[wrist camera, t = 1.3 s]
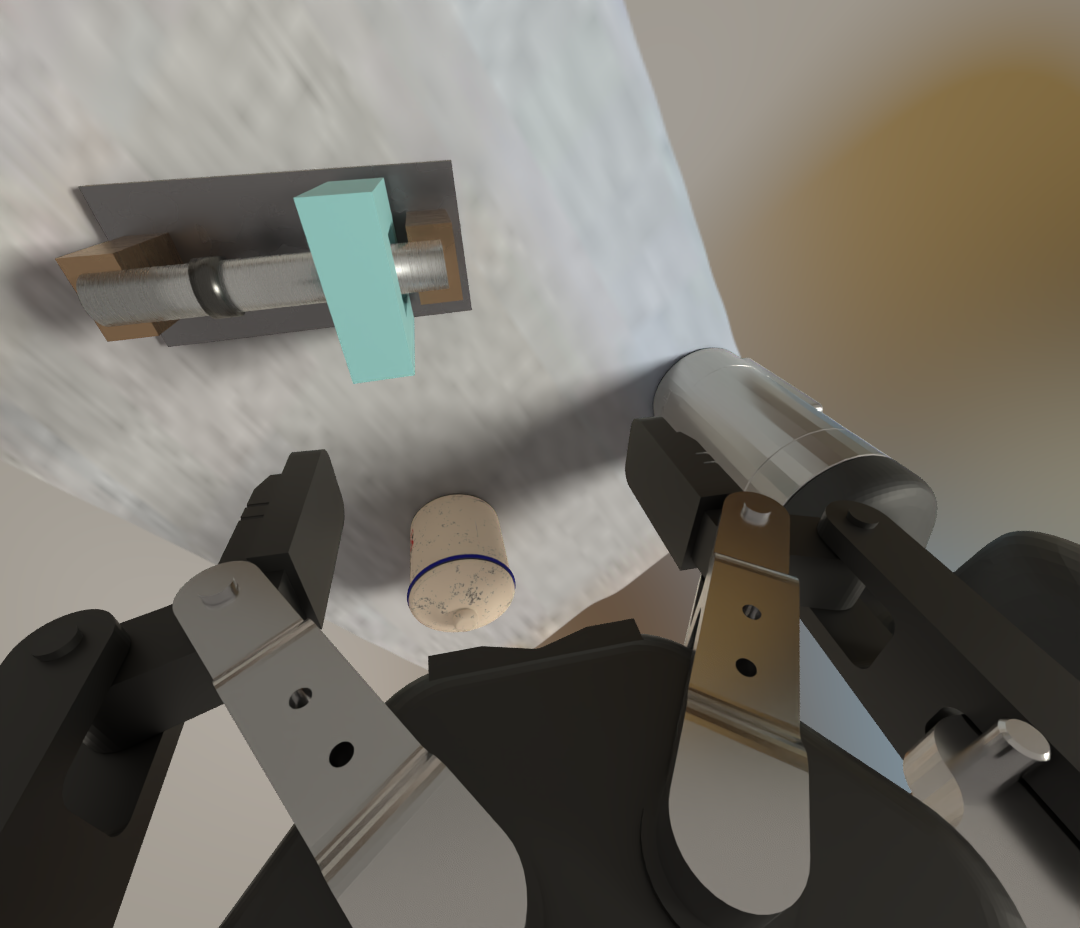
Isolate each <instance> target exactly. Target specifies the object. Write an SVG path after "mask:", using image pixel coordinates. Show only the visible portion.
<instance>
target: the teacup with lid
mask: <svg viewBox="0 0 1080 928" xmlns="http://www.w3.org/2000/svg"><path fill="white" fill-rule="evenodd" d="M514 592H515V579H514V576H513V574H512V572H511V570H510V569H509V565H508V560H507V556H506V551H505V547H504V543H503V538H502V534H501V529H500V525H499V521H498V517H497V515H496V512H495V511H494V509H493V508H492V507H491V506H490V505H489V504H488V503H486V502H485V501H483V500H481V499H479V498H477V497H474V496H469V495H460V494H457V495H448V496H444V497H440V498H437V499H435V500H433V501H431V502H429V503H428V504H426V505H425V506H424V507H422V508H421V509H420V510H419V511H418V513H417V514H416V515H415V517H414V519H413V521H412V524H411V531H410V586H409V589H408V592H407V602H408V606H409V608H410V610H411V612H412V614H413V615H414V617H415V618H416V619H417V620H418V621H419V622H420V623H422V624H423V625H425V626H427V627H429V628H432V629H434V630H438V631H444V632H466V631H470V630H473V629H476V628H479V627H482V626H484V625H487V624H489V623H491V622H492V621H494V620H495V619H497V618H498V617H499V616H501V615H502V614H503V613H504V612H505V611H506V609H507V608H508V607H509V605H510V604H511V602H512V599H513V597H514Z"/></svg>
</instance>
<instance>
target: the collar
mask: <svg viewBox="0 0 1080 928" xmlns="http://www.w3.org/2000/svg"><path fill="white" fill-rule="evenodd" d="M293 199H294V202H295V205H296V208H297V211H298V214H299V217H300V220H301V223H302V226H303V229H304V233H305V236H306V239H307V242H308V245H309V248H310V251H311V254H312V257H313V260H314V264H315V267H316V270H317V273H318V276H319V279H320V282H321V285H322V288H323V291H324V294H325V298H326V301H327V304H328V307H329V310H330V313H331V316H332V319H333V322H334V325H335V328H336V332H337V335H338V338H339V341H340V344H341V347H342V350H343V353H344V356H345V359H346V362H347V366H348V369H349V372H350V375H351V378H352V381H353V384H356V383H363V382H370V381H377V380H384V379H391V378H398V377H405V376H413V375H415V347H414V316H413V311H412V307H411V302H410V298H409V293H406V294H401V291H400V286H399V282H398V278H397V273H396V269H395V264H394V260H393V255H392V251H391V247H390V244H395V243H398V242H397V237H396V233H395V228H394V224H393V219H392V214H391V210H390V205H389V200H388V196H387V191H386V187H385V182H384V177H383V178H370V179H356V180H343V181H329V182H326V183H324V184H322V185H319V186H317V187H315V188H313V189H311V190H309V191H307V192H305V193H303V194H300V195H298V196H296V197H294V198H293Z"/></svg>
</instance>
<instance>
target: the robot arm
mask: <svg viewBox="0 0 1080 928" xmlns="http://www.w3.org/2000/svg"><path fill="white" fill-rule="evenodd" d="M822 411H823V408H822V405H821V404H820V403H819V402H817V401H815V400H814V399H812V398H811V397H809V396H808V395H806V394H805V393H803V392H801V391H800V390H798V389H797V388H795V387H794V386H792V385H791V384H789V383H788V382H786V381H784V380H783V379H781V378H780V377H778V376H777V375H775V374H774V373H772V372H771V371H769V370H767V369H766V368H764V367H763V366H761V365H760V364H758V363H756V362H755V361H753V360H752V359H750V358H739V357H738V356H736V355H735V354H733V353H732V352H730V351H727V350H725V349H721V348H708V349H702V350H699V351H696V352H693V353H691V354H689V355H688V356H686V357H684V358H682V359H681V360H680V361H679V362H677V363H676V364H675V365H674V366H673V367H672V368H671V369H670V370H669V371H668V372H667V373H666V374H665V376H664V377H663V379H662V381H661V382H660V384H659V386H658V388H657V391H656V393H655V397H654V402H653V412H654V416H655V417H647V418H637V419H634V420H633V422H632V424H631V429H630V436H629V443H628V450H627V457H626V464H625V473H626V479H627V482H628V485H629V487H630V489H631V490H632V492H633V494H634V495H635V497H636V499H637V500H638V502H639V503H640V505H641V507H642V508H643V510H644V512H645V513H646V515H647V517H648V518H649V520H650V522H651V523H652V525H653V526H654V528H655V530H656V531H657V533H658V535H659V536H660V538H661V540H662V541H663V543H664V545H665V546H666V548H667V549H668V551H669V553H670V554H671V556H672V557H673V559H674V561H675V562H676V564H677V566H678V568H679V569H680V570H687V569H693V568H698V569H699V570H700V572H701V576H700V579H699V583H698V587H697V591H696V596H695V600H694V604H693V609H692V613H691V618H690V622H689V626H688V630H687V635H686V639H685V643H684V645H682V644H679V643H677V642H674V641H672V640H669V639H665V638H662V637H658V636H653V635H648V634H640V632H639V629H638V627H637V625H636V623H635V620H634V619H628V620H622V621H617V622H612V623H606V624H600V625H595V626H590V627H585V628H583V629H581V630H579V631H577V632H575V633H572V634H570V635H568V636H566V637H564V638H562V639H559V640H557V641H555V642H553V643H551V644H548V645H546V646H544V647H541V648H538V649H525V648H505V647H486V646H481V647H475V648H470V649H465V650H459V651H454V652H448V653H443V654H437V655H432V656H428V665H429V674H426V675H424V676H422V677H420V678H418V679H416V680H415V681H413V682H411V683H409V684H408V685H406V686H405V687H404V688H402V689H401V690H399V691H398V692H397V693H395V694H394V695H393V696H392V697H391V698H390V699H389V700H388V701H386V702H385V703H384V702H383V701H382V700H381V699H380V697H379V696H378V695H377V694H376V693H375V692H374V691H373V689H372V688H371V687H370V686H369V685H368V684H367V682H366V681H365V680H364V679H363V678H362V677H361V676H360V674H359V673H358V672H357V671H356V670H355V669H354V668H353V667H352V665H351V664H350V663H349V662H348V661H347V660H346V659H345V657H344V656H343V655H342V654H341V653H340V652H339V651H338V649H337V648H336V647H335V646H334V645H333V644H332V643H331V642H330V640H329V639H328V638H327V637H326V636H325V634H324V633H323V632H322V631H321V630H320V629H322V626H323V622H324V617H325V612H326V607H327V602H328V598H329V593H330V588H331V583H332V578H333V573H334V568H335V563H336V559H337V554H338V549H339V544H340V539H341V534H342V529H343V524H344V504H343V499H342V496H341V492H340V489H339V486H338V483H337V480H336V476H335V473H334V470H333V467H332V463H331V460H330V457H329V455H328V453H327V451H326V450H325V449H322V450H312V451H302V452H292V453H291V454H290V455H289V458H288V460H287V462H286V465H285V467H284V469H283V472H282V474H276V475H270V476H269V477H268V478H266V479H265V480H264V481H263V482H262V483H261V484H260V485H259V486H258V487H256V488H255V489H254V491H253V493H252V495H251V497H250V499H249V501H248V503H247V508H245V510H244V512H243V514H242V516H241V521H239V522H238V524H237V526H236V528H235V530H234V532H233V534H232V536H231V538H230V540H229V543H228V545H227V547H226V549H225V551H224V553H223V555H222V557H221V559H220V561H219V563H218V565H215V566H213V567H211V568H209V569H206V570H204V571H202V572H201V573H199V574H197V575H196V576H194V577H193V578H191V579H190V580H189V581H188V582H187V583H186V584H185V585H184V586H183V587H182V588H181V589H180V590H179V592H178V593H177V594H176V597H175V598H174V601H173V604H171V605H169V606H167V607H164V608H161V609H159V610H156V611H153V612H151V613H148V614H145V615H142V616H139V617H136V618H134V619H131V620H128V621H125V622H122V623H120V624H119V623H118V621H117V620H116V619H115V618H114V617H113V615H111V614H110V613H109V612H107V611H104V610H99V609H90V610H83V611H78V612H74V613H71V614H68V615H65V616H62V617H60V618H58V619H55V620H53V621H51V622H49V623H47V624H45V625H44V626H42V627H40V628H39V629H37V630H36V631H34V632H33V633H31V634H30V635H28V636H27V637H26V638H25V639H23V640H22V641H21V642H20V643H19V644H18V645H17V646H15V647H14V648H13V649H12V651H11V652H10V653H9V654H8V655H7V657H6V658H5V660H4V661H3V662H2V664H1V665H0V928H113V926H114V923H115V920H116V917H117V914H118V911H119V909H120V906H121V903H122V900H123V897H124V894H125V891H126V888H127V885H128V883H129V880H130V877H131V874H132V871H133V868H134V866H135V863H136V859H137V857H138V854H139V851H140V848H141V845H142V843H143V840H144V837H145V834H146V831H147V828H148V825H149V822H150V820H151V817H152V814H153V811H154V808H155V805H156V802H157V799H158V796H159V794H160V791H161V788H162V785H163V782H164V779H165V777H166V773H167V771H168V768H169V765H170V762H171V759H172V756H173V753H174V751H175V748H176V745H177V742H178V739H179V736H180V733H181V731H182V728H183V725H184V722H185V721H187V720H189V719H192V718H194V717H196V716H198V715H200V714H203V713H205V712H207V711H209V710H211V709H213V708H216V707H218V706H220V705H222V704H225V706H226V708H227V709H228V711H229V713H230V715H231V716H232V718H233V720H234V721H235V723H236V725H237V726H238V728H239V730H240V732H241V733H242V735H243V737H244V738H245V740H246V742H247V743H248V745H249V747H250V749H251V750H252V752H253V754H254V755H255V757H256V759H257V760H258V762H259V764H260V766H261V767H262V769H263V770H264V772H265V774H266V776H267V777H268V779H269V781H270V782H271V784H272V786H273V788H274V789H275V791H276V793H277V795H278V796H279V798H280V800H281V801H282V803H283V805H284V806H285V808H286V810H287V811H288V813H289V815H290V817H291V818H292V820H293V822H294V824H293V826H292V827H291V829H290V830H289V832H288V833H287V834H286V836H285V837H284V838H283V840H282V841H281V842H280V844H279V845H278V846H277V848H276V849H275V851H274V852H273V853H272V855H271V856H270V858H269V859H268V860H267V862H266V863H265V865H264V866H263V867H262V869H261V870H260V872H259V873H258V874H257V875H256V877H255V878H254V880H253V881H252V882H251V884H250V885H249V886H248V888H247V889H246V891H245V892H244V893H243V895H242V896H241V898H240V899H239V900H238V902H237V903H236V904H235V906H234V907H233V909H232V910H231V911H230V913H229V914H228V915H227V917H226V918H225V920H224V921H223V922H222V924H221V925H220V926H219V928H1080V545H1079V544H1077V543H1074V542H1072V541H1069V540H1066V539H1063V538H1060V537H1057V536H1053V535H1049V534H1045V533H1041V532H1034V531H1016V532H1010V533H1006V534H1004V535H1001V536H1000V537H998V538H997V539H995V540H993V541H992V542H990V543H989V544H987V545H986V546H985V547H984V548H982V549H981V550H980V551H978V552H977V553H976V554H975V555H974V556H973V557H972V558H970V559H969V560H968V561H967V562H965V563H964V564H963V565H962V566H961V567H960V568H958V569H957V570H956V571H955V572H952V571H951V570H949V569H948V568H947V567H946V566H945V565H943V564H942V563H941V562H940V561H939V560H938V559H937V558H936V557H934V556H933V555H932V554H931V553H930V552H929V551H927V550H926V549H925V548H926V545H927V543H928V540H929V538H930V535H931V533H932V530H933V527H934V524H935V521H936V516H937V501H936V497H935V495H934V492H933V491H932V489H931V488H930V487H929V486H928V484H927V483H926V482H925V481H923V479H921V478H920V477H919V476H918V475H916V474H915V473H913V472H912V471H910V470H909V469H907V468H906V467H904V466H902V465H901V464H899V463H898V462H897V461H895V460H893V459H892V458H890V457H889V456H887V455H886V454H884V453H883V452H881V451H880V450H878V449H877V448H875V447H874V446H872V445H871V444H869V443H868V442H866V441H865V440H863V439H862V438H860V437H859V436H857V435H855V434H854V433H852V432H851V431H849V430H848V429H846V428H845V427H843V426H842V425H840V424H839V423H837V422H835V421H834V420H833V419H831V418H830V417H828V416H827V415H825V414H824V413H822ZM800 619H801V620H802V622H803V623H804V625H805V626H806V627H807V629H808V630H809V631H810V633H811V634H812V636H813V637H814V638H815V640H816V641H817V642H818V644H819V645H820V647H821V648H822V649H823V651H824V652H825V653H826V655H827V656H828V657H829V659H830V660H831V662H832V663H833V664H834V666H835V667H836V669H837V670H838V671H839V673H840V674H841V675H842V677H843V678H844V679H845V681H846V682H847V684H848V685H849V686H850V688H851V689H852V691H853V692H854V693H855V695H856V696H857V697H858V699H859V700H860V702H861V703H862V704H863V706H864V707H865V708H866V710H867V711H868V713H869V714H870V715H871V717H872V718H873V719H874V721H875V722H876V724H877V725H878V726H879V728H880V729H881V730H882V732H883V733H884V734H885V736H886V737H887V739H888V740H889V741H890V743H891V744H892V745H893V747H894V748H895V750H896V751H897V753H898V754H899V755H900V757H901V758H902V759H903V771H904V775H905V779H906V781H907V783H908V786H909V788H910V789H911V791H912V792H911V793H908V792H907V791H905V790H904V789H902V788H901V787H899V786H898V785H896V784H895V783H893V782H892V781H890V780H889V779H887V778H886V777H884V776H882V775H881V774H880V773H878V772H877V771H875V770H874V769H872V768H871V767H869V766H867V765H866V764H864V763H863V762H862V761H860V760H859V759H857V758H855V757H854V756H852V755H851V754H849V753H848V752H846V751H845V750H843V749H842V748H840V747H839V746H837V745H836V744H834V743H833V742H831V741H830V740H828V739H826V738H825V737H824V736H822V735H821V734H819V733H818V732H816V731H815V730H813V729H812V728H810V727H809V726H807V725H806V724H804V723H803V722H801V721H800V645H799V644H800V642H799V641H800V634H799V633H800V627H799V626H800V625H799V624H800Z"/></svg>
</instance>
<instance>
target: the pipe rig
mask: <svg viewBox="0 0 1080 928" xmlns="http://www.w3.org/2000/svg"><path fill="white" fill-rule="evenodd" d="M383 177H384V182H385V187H386V191H387V196H388V200H389V205H390V210H391V214H392V219H393V224H394V228H395V233H396V237H397V242H398V243H395V244H390V247H391V251H392V255H393V260H394V264H395V269H396V273H397V278H398V282H399V286H400V291H401V294H406V293H409V298H410V302H411V307H412V311H413V316H414V317H419V316H427V315H435V314H444V313H452V312H460V311H468V310H472V308H471V301H470V293H469V286H468V279H467V272H466V264H465V257H464V250H463V243H462V236H461V228H460V221H459V214H458V207H457V200H456V192H455V185H454V178H453V171H452V164H451V160H443V161H428V162H414V163H400V164H386V165H371V166H357V167H343V168H328V169H314V170H300V171H285V172H271V173H257V174H243V175H228V176H214V177H200V178H185V179H171V180H157V181H142V182H128V183H114V184H100V185H86V186H79V189H80V190H81V192H82V194H83V196H84V197H85V199H86V201H87V203H88V205H89V206H90V208H91V210H92V212H93V214H94V215H95V217H96V219H97V221H98V222H99V224H100V226H101V228H102V230H103V231H104V233H105V235H106V237H107V239H108V240H109V241H107V242H104V243H101V244H98V245H95V246H92V247H89V248H85V249H82V250H79V251H76V252H73V253H70V254H67V255H64V256H61V257H58V258H55V260H56V261H57V263H58V265H59V266H60V268H61V269H62V271H63V272H64V274H65V276H66V277H67V279H68V280H69V282H70V283H71V285H72V287H73V288H74V290H75V291H76V293H77V294H78V297H79V300H80V302H81V304H82V306H83V307H84V309H85V310H86V312H87V313H88V314H89V315H90V316H91V318H93V319H94V321H95V323H96V324H97V326H98V327H99V329H100V330H101V332H102V334H103V335H104V337H105V338H106V340H107V341H108V342H109V341H118V340H126V339H135V338H143V337H152V336H159V335H160V334H161V335H162V337H163V339H164V340H165V342H166V344H167V346H168V347H171V346H179V345H187V344H196V343H204V342H212V341H220V340H229V339H237V338H245V337H253V336H262V335H270V334H278V333H287V332H295V331H303V330H311V329H320V328H328V327H335V325H334V322H333V319H332V316H331V313H330V310H329V307H328V304H327V301H326V298H325V294H324V291H323V288H322V285H321V282H320V279H319V276H318V273H317V270H316V267H315V264H314V260H313V257H312V254H311V251H310V248H309V245H308V242H307V239H306V236H305V233H304V229H303V226H302V223H301V220H300V217H299V214H298V211H297V208H296V205H295V202H294V199H293V198H294V197H296V196H298V195H300V194H303V193H305V192H307V191H309V190H311V189H313V188H315V187H317V186H319V185H322V184H324V183H326V182H329V181H343V180H356V179H370V178H383Z"/></svg>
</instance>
